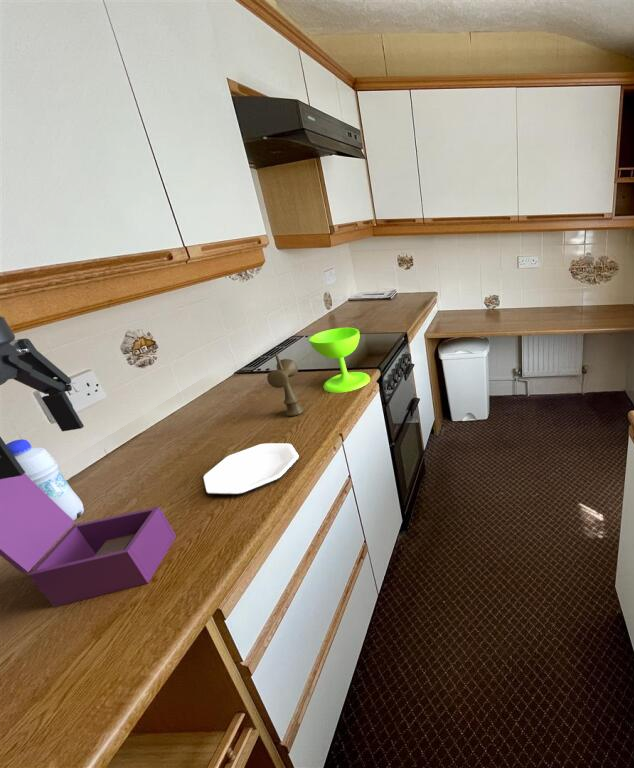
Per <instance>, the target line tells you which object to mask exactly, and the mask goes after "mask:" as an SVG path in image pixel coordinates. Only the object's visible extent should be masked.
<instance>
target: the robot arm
mask: <svg viewBox="0 0 634 768" xmlns="http://www.w3.org/2000/svg"><path fill="white" fill-rule="evenodd" d="M9 380H14V381H17V382H19V383H21V384H23V385H25V386H27V387H29V388H31V389H34V390H36V391H38V392H40V393H41V394H45V395H44V396H42V397H41V400H42V401H43V403H44V405H45V407H46V408H47V410H48V411H49V413H50V415H51V417H52V418H53V419H54V421H55V422H56V424H57V426H58V427H59V429H60V430H61V432H68V431H75V430H80V429H83V428H84V427H85V425H84V423H83V422H82V420H81V418H80V416H79V415H78V414H77V411H76V409H75V408H74V406H73V403H72V401H71V400H70V398H69V397H68V395H67V392H71V391H72V390H73V387H72V385H71V384H72V379H71V378H70V377H69V376H68V375H67V374H66V373H65V372H63V371H62V369H60V368H58V366H57V365H55V364H54V363H53V362H51V361H50V359H48V358H47V357H46V356H44V355H43V354H42V353H41V352H40V351H38V350H37V348H36V347H35V345H34V344H33V343H32V341H31V340H30V339H29V338H17V339H16V335H15V334H14V332H13V330H12V328H11V327H10V325H9V323H8V322H7V320H6V319H5V317H4V316H1V315H0V386H2V385H4V384H6V382H8V381H9ZM6 444H7V443H6V442H5V441H4V440H3V438H2V437H1V436H0V479H5V478H10V477H16V476H22V475H23V474H24V473H25V471H24V470H23V468H22V467H21V465H20V464H19V463H18V461H17V460H16V458H15V457H14V455H13V454H12V453H11V451H10V450H9V448H8V447H7V445H6Z"/></svg>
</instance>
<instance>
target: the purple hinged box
mask: <svg viewBox="0 0 634 768" xmlns="http://www.w3.org/2000/svg"><path fill="white" fill-rule="evenodd" d="M133 534H135V536H134V537H133V539H132V540H131V541H130V543H129V544H128V546H127V547H126V548H125V550H121V551H117V552H112V553H108V554H104V555H99V556H95V554H96V553H97V552H98V551H99V549H100V548H101V547H102V546H103V544H104V543H105V542H106V541H107V540H111V539H115V538H119V537H124V536H128V535H133ZM176 537H177V535H176V533H175V531H174V530H173V528H172V526H171V525H170V522H169V521H168V519H167V517H166V516H165V513H164V512H163V510H162V509H161V507H160V506H155V507H151V508H146V509H140V510H137V511H132V512H127V513H123V514H117V515H114V516H113V515H112V516H109V517H104V518H99V519H95V520H90V521H86V522H80V523H77V524H73V525H72V526H71V527H70V528H69V529H68V530H67V531H66V532H65V533H64V535H63V536H62V537H61V538H60V539H59V540H58V541H57V542H56V543H55V544H54V545H53V546H52V547H51V549H50V550H49V551H48V552H47V553H46V554H45V555H44V556H43V557H42V558H41V559H40V560H39V562H38V563H37V564H36V565H35V566H34V567H33V568H32V569H31V570H30V571H29V572H28V574H27V576H28V577H29V578H30V580H31V581H32V582H33V583H34V585H35V587H37V588H38V590H40V592H41V593H42V594H43V595H44V597H45V598H46V599H47V601H49V603H50V604H51V606H53V608H56V607H61V606H64V605H68V604H72V603H76V602H81V601H83V600H88V599H92V598H96V597H100V596H105V595H108V594H111V593H116V592H120V591H124V590H128V589H132V588H135V587H140V586H144V585H148V584H149V583H150V581H151V580H152V577H153V576H154V574H155V572H156V571H157V569H158V568H159V566H160V564H161V563H162V561H163V560H164V558H165V556H166V554H167V552H168V551H169V549H170V547H171V546H172V544H173V543H174V541H175V540H176ZM94 556H95V557H94Z"/></svg>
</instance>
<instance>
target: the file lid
mask: <svg viewBox="0 0 634 768" xmlns="http://www.w3.org/2000/svg"><path fill="white" fill-rule="evenodd" d="M75 523H76V520H72V519H71V518H70V517H69V516H68V515H67V514H66V513H65V512H64V511H63V510H62V509H61V508H60V507H59V506H58V505H57V504H56V503H55V502H54V501H53V500H52V499H51V498H49V497H48V496H47V495H46V494H45V493H44V492H43V491H42V490H41V489H40V488H39V487H38V486H37V485H36V484H35V483H34V482H33V481H32V480H31V479H30V478H29V477H28V476H27V475H25V474H23V475H22V476H16V477H10V478H5V479H0V557H2V559H4V560H5V561H7V562H8V563H9V565H12V566H13V567H14V568H15V569H17V570H18V572H20V573H21V574H27V573H30V572H31V571H32V570H33V569H34V568H35V567H36V565H37V564H38V563H39V562H40V561H41V560H42V559H43V558H44V557H45V556H46V555H47V554H48V553H49V552H50V550H51V549H52V548H53V547H54V546H55V545H56V544H57V543H58V542H59V541H60V540H61V539H62V538H63V536H64V535H65V534H66V533H67V532H68V531H69V530H70V529H71V528H72V527H73V526H74V525H75Z"/></svg>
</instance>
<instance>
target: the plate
mask: <svg viewBox="0 0 634 768" xmlns="http://www.w3.org/2000/svg"><path fill="white" fill-rule="evenodd" d="M299 457H300V455H299V454H298V452H297V451H296V449H295V447H294V446H293V444H291V443H289V442H288V443H281V442H280V443H277V442H276V443H273V442H272V443H270V442H269V443H268V442H267V443H259V444H257V445H254V446H251V447H249V448H246V449H243V450H240V451H237V452H235V453H232V454H228V456H225V457H224V458H223V459H222V460H221V461H219V462H218V463H217V464H216V465H215V466H213V467H212V468H211V469H210V470H208V471H207V472H206V473H205V474H204V476H203V477H202V478H203V482H204V483H203V484H204V488H205V491H206V493H207V494H208V495H237V496H239V495H243V494H246V493H248V492H251V491H253V490H256V489H258V488H261V487H263V486H265V485H268V484H270V483H272V482H275V481H277V480H279V479H281V478H282V477H283V476H284V475H285V474H286V473H287V472H288V471H289V470H290V469H291V467H293V466H294V465H295V463H296V462H297V461H298V460H299Z"/></svg>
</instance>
